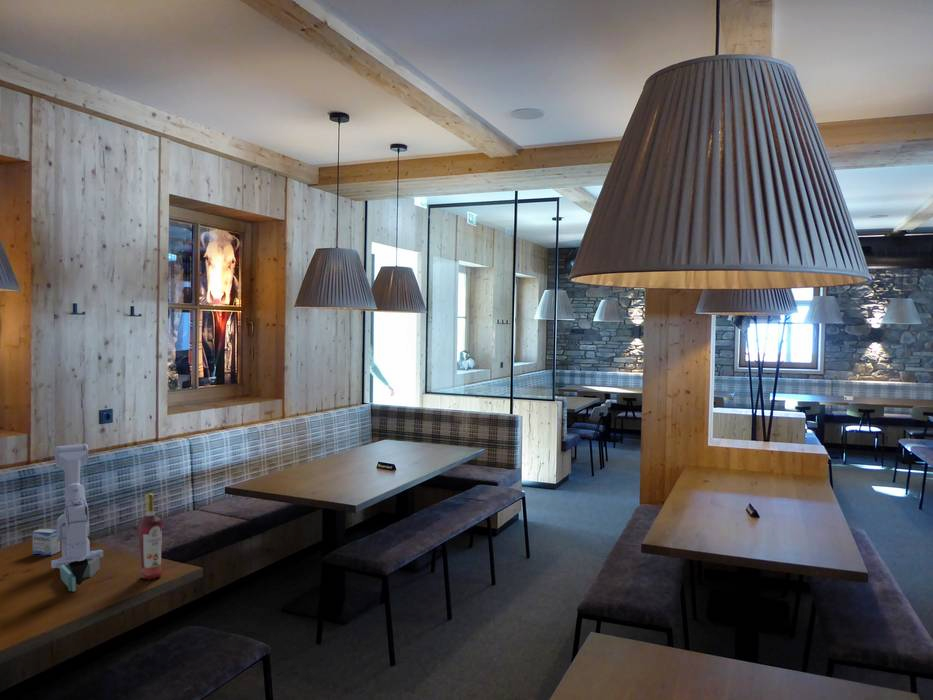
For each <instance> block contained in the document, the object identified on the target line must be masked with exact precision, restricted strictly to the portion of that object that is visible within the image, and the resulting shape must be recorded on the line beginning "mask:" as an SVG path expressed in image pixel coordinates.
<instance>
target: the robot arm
mask: <svg viewBox="0 0 933 700" xmlns="http://www.w3.org/2000/svg"><path fill="white" fill-rule="evenodd" d="M54 461H55V462H54V463H55V467H57V468H61V469H62V470H63V472H64V503H65V508H63V509H64V512H63V513H62V514H61V515H60V516H59V517H58V518H57V519H56V530H57V540H59V541H60V544H61V557H60V558H59V557H58V558H56V559H53V560H51V561H50V564H51V566H50V567H51V568H52V569H55V568H57V569H60V566H62V565H66V564H68V565H69V567H70V568H71V570H72V572H73V574H74V576H75V578H76V586H80V585H82V582H83V581H82V580H83V578H82V577H83V574H84V572H85V569H86V567H87V566H88V561H87V560H88V559H92V558H96V557H100V558H103V557H104V550H103V549H96V550H91V549H90V548H91V546H90V543H91V542H90V539H89V538H88V537H89V535H90V521H89V518H90V517H89V516H90V515H89V506H88V503H87V502H88V501H87V500H86V498H87V497H86V488H85V486H84V485H82V484H81V467H83V466H84V465H86V464H87V463H88V461H89V446H88V444H87V443H79V444H69V445H56V446H55V447H54Z"/></svg>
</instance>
